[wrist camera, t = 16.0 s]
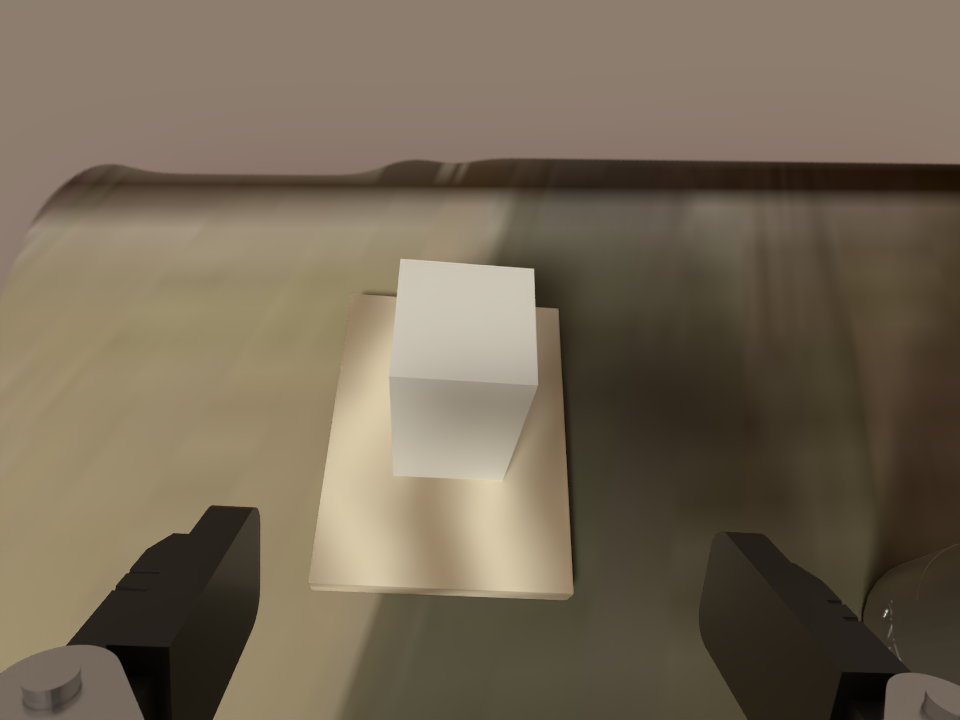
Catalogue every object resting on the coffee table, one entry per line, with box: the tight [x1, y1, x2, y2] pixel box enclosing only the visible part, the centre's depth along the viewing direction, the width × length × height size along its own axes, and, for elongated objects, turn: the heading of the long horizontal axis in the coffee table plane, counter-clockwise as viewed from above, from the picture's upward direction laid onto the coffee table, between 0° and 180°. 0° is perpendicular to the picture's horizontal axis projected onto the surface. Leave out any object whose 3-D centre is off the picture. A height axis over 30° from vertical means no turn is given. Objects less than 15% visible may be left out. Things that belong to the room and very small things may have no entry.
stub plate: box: [308, 294, 574, 600], centre depth 32 cm, size 12×16×6 cm
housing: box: [389, 259, 538, 481], centre depth 29 cm, size 5×5×10 cm
